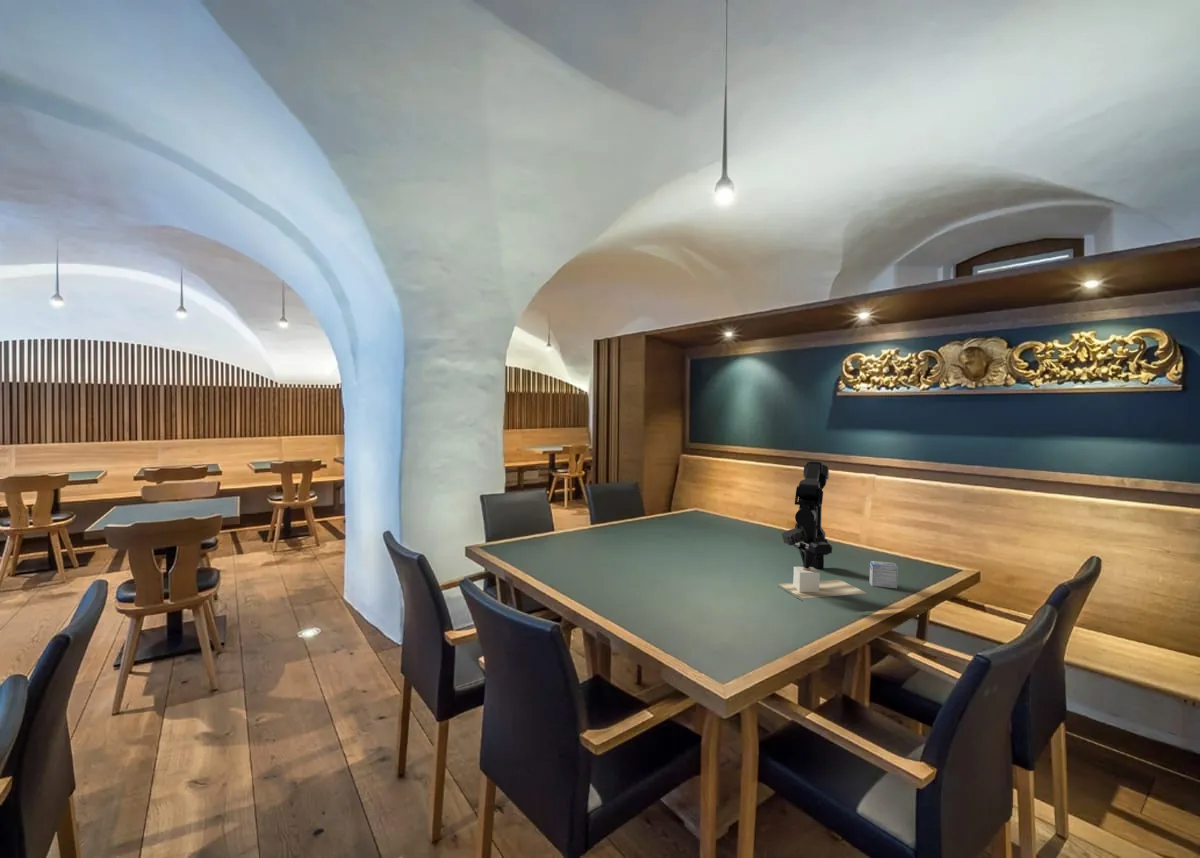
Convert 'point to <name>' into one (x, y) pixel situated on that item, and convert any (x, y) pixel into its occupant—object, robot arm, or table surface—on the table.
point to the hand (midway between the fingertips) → (806, 568)
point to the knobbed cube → (806, 579)
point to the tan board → (825, 589)
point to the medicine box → (883, 574)
